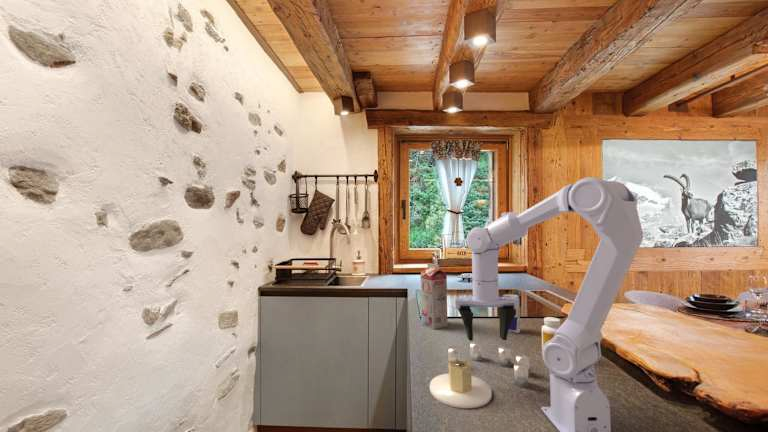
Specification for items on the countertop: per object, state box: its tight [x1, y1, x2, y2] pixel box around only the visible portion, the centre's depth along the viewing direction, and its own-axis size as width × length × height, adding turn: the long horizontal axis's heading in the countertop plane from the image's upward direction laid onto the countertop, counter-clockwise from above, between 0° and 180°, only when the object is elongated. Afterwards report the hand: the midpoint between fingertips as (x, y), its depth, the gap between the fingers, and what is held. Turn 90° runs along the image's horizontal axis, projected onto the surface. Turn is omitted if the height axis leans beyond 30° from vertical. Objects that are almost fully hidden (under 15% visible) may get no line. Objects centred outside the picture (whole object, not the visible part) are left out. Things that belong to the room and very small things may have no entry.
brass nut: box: [447, 358, 472, 393], centre depth 68 cm, size 5×4×5 cm
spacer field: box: [447, 341, 531, 388], centre depth 77 cm, size 16×18×4 cm
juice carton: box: [420, 262, 449, 330], centre depth 113 cm, size 7×7×22 cm
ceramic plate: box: [429, 372, 493, 409], centre depth 68 cm, size 13×13×1 cm
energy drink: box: [502, 293, 521, 335], centre depth 106 cm, size 5×5×12 cm
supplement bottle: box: [541, 316, 561, 349], centre depth 86 cm, size 5×5×10 cm
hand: (486, 338), depth 72 cm, fingers open, 7 cm apart
